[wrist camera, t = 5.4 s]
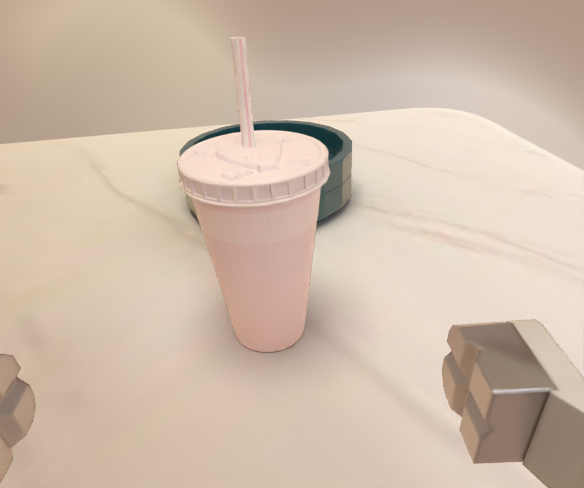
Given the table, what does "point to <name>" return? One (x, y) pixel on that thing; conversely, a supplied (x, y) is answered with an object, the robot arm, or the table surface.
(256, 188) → the smoothie
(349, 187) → the bowl
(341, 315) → the table surface
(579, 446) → the robot arm
